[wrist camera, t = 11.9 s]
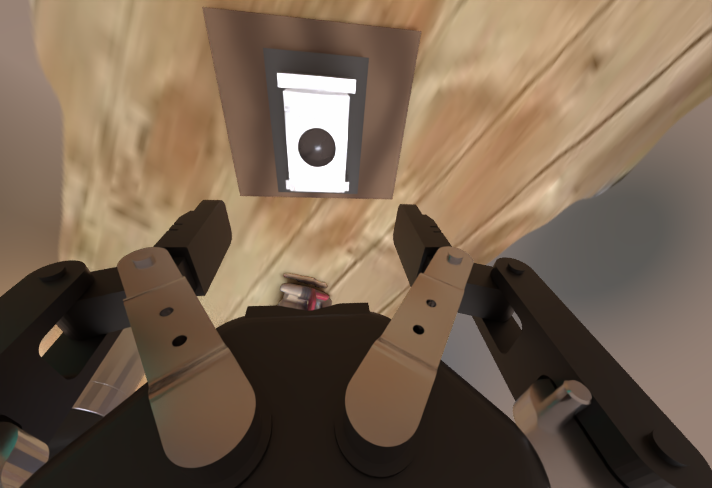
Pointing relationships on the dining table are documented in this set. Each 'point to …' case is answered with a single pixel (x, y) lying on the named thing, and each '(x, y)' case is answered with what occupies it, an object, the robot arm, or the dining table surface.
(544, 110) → the dining table surface
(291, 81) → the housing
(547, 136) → the dining table surface
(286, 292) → the brake caliper
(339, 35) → the stand
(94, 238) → the dining table surface
